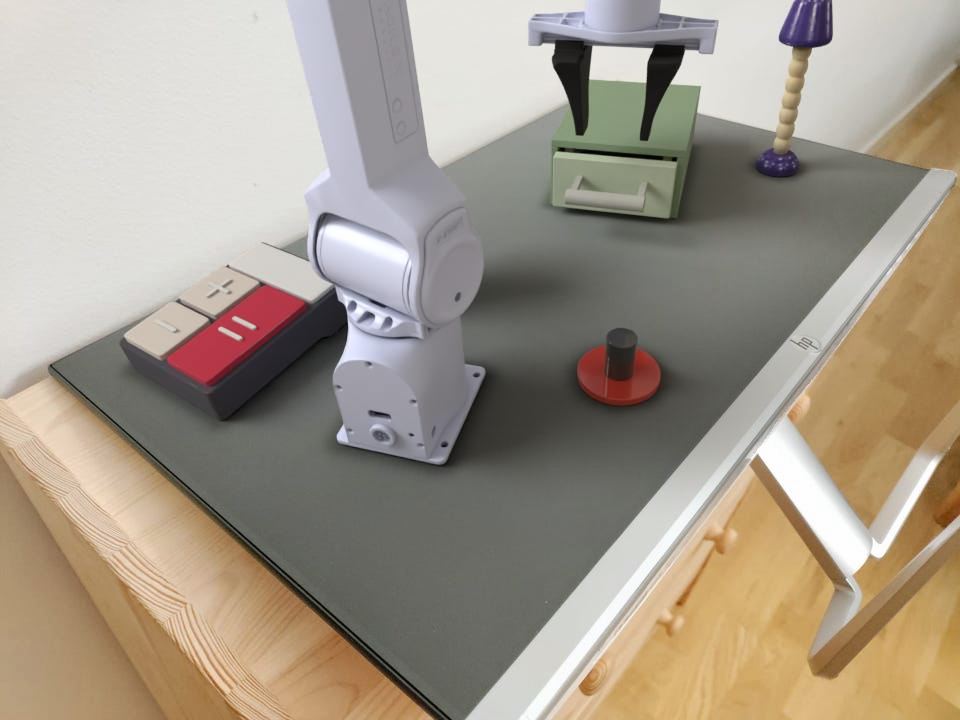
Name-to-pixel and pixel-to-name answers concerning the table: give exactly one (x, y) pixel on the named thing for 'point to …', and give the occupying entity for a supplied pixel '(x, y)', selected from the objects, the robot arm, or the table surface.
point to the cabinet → (634, 125)
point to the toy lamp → (796, 77)
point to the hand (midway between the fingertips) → (613, 133)
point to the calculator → (235, 329)
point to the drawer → (614, 182)
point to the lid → (619, 370)
